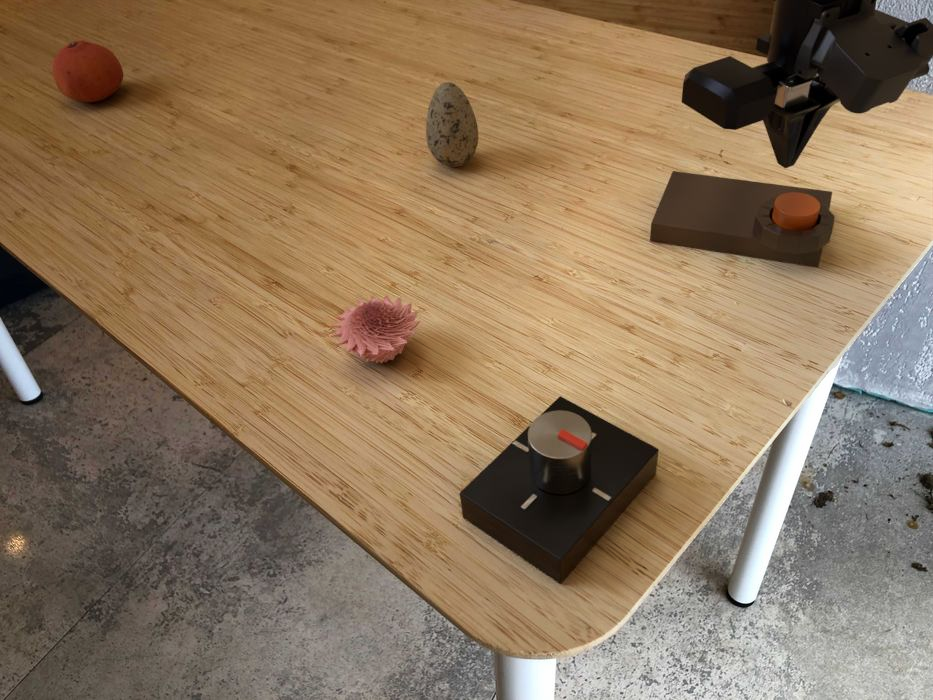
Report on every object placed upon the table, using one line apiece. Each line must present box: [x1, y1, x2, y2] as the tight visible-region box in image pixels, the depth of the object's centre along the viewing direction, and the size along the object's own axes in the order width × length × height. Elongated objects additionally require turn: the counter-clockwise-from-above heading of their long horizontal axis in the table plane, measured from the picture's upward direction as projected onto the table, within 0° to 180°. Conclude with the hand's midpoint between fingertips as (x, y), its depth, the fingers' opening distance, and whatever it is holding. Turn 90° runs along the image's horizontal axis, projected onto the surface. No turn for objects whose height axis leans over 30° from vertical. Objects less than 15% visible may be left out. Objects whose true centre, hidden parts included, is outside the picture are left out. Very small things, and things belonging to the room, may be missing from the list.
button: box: [772, 192, 820, 231], centre depth 79 cm, size 4×4×2 cm
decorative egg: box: [425, 81, 479, 168], centre depth 96 cm, size 6×6×10 cm
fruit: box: [51, 39, 124, 103], centre depth 118 cm, size 9×9×8 cm
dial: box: [528, 410, 592, 495], centre depth 60 cm, size 4×4×4 cm
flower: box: [328, 294, 421, 364], centre depth 75 cm, size 8×8×6 cm
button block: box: [649, 170, 836, 268], centre depth 84 cm, size 16×12×4 cm
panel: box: [459, 396, 660, 585], centre depth 62 cm, size 12×9×3 cm
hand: (785, 165), depth 70 cm, fingers closed
